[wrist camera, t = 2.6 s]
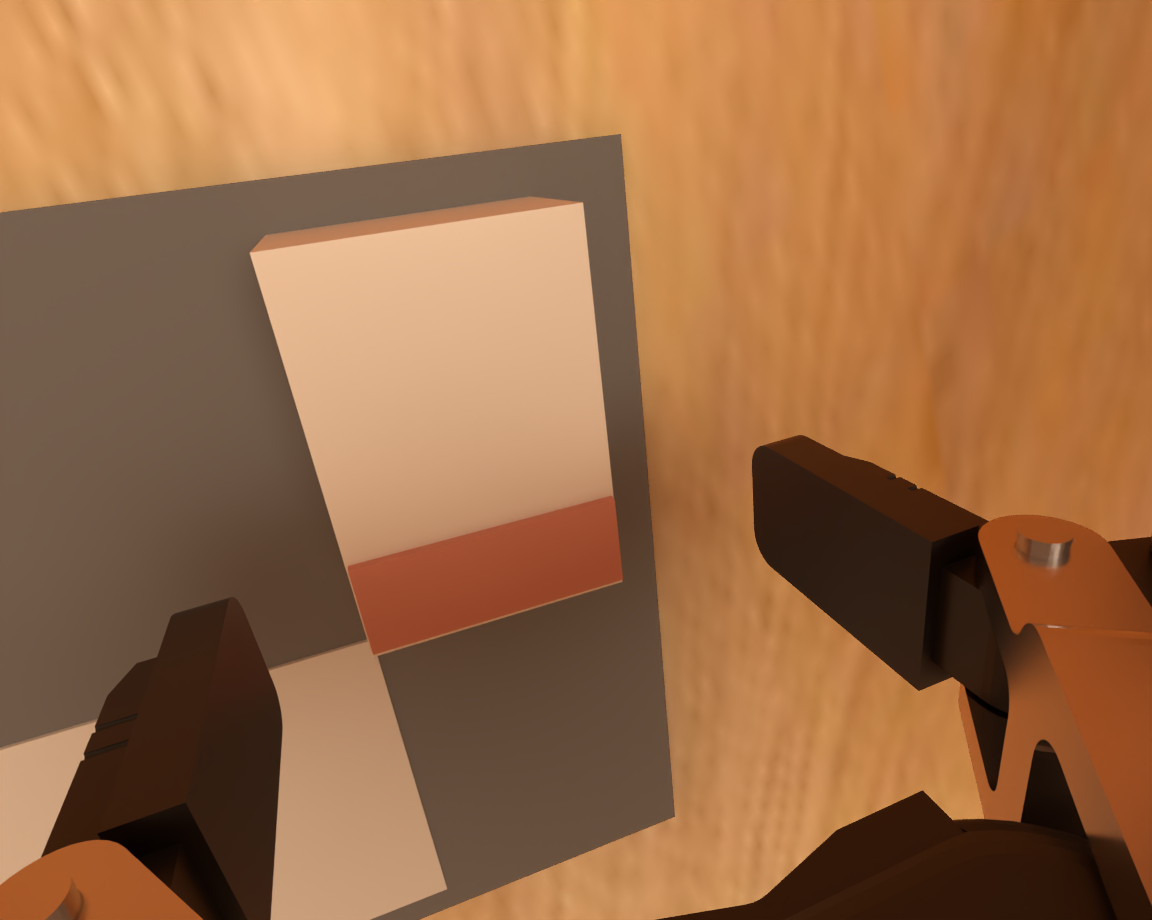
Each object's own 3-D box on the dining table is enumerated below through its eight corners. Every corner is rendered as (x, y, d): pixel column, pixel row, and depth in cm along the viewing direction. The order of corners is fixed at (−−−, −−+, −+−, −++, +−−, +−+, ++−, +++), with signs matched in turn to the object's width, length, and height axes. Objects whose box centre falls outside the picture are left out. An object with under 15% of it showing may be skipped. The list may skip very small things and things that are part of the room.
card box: (265, 234, 14) (248, 254, 10) (529, 196, 15) (587, 202, 12) (363, 570, 17) (373, 663, 14) (572, 513, 18) (625, 586, 15)
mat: (-411, 264, 11) (-454, 269, 11) (611, 135, 16) (622, 134, 15) (117, 1021, 20) (111, 1047, 20) (667, 803, 25) (676, 818, 24)
